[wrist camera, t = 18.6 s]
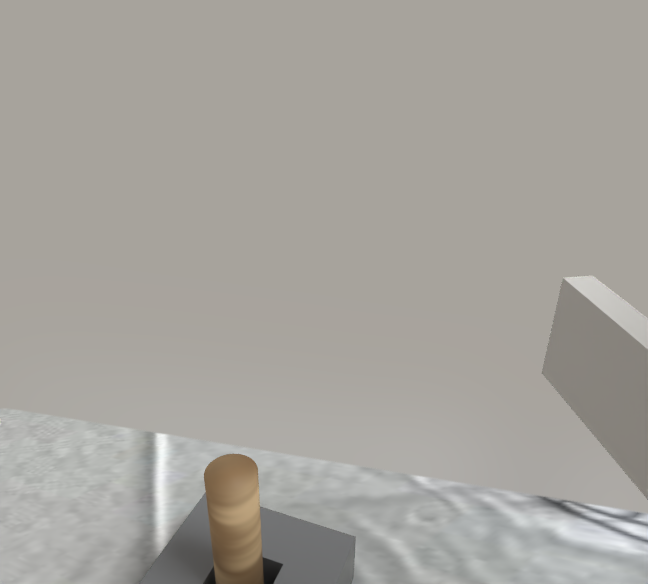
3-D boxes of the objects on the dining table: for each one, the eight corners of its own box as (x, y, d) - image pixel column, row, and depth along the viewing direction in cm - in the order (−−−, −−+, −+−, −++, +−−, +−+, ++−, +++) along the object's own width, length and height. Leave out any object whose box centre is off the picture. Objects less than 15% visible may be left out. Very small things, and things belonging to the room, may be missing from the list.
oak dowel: (272, 601, 48) (266, 461, 41) (252, 642, 45) (242, 499, 38) (233, 586, 49) (221, 448, 42) (211, 625, 46) (193, 483, 39)
